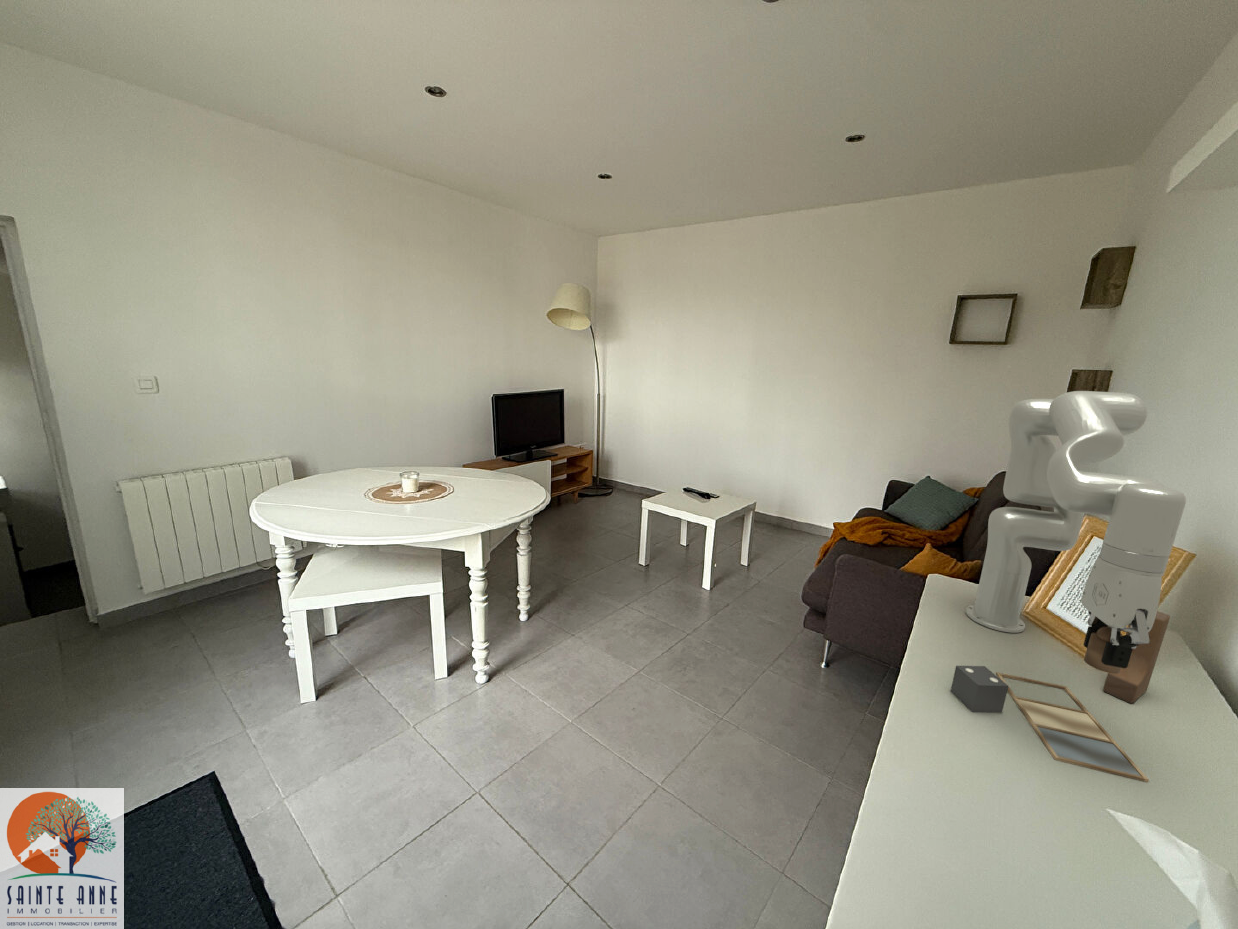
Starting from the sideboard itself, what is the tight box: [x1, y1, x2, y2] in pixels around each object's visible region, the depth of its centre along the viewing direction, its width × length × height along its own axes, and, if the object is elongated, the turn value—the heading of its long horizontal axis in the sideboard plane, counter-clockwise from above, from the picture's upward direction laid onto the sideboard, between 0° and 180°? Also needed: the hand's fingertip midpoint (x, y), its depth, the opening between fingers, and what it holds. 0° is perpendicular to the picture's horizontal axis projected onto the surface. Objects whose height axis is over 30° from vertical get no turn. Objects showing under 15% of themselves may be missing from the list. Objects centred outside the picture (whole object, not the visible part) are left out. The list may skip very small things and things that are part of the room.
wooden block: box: [1102, 610, 1171, 704], centre depth 98 cm, size 9×4×18 cm, turn 119°
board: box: [995, 671, 1150, 783], centre depth 91 cm, size 24×12×1 cm, turn 161°
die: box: [950, 665, 1009, 713], centre depth 95 cm, size 6×6×6 cm
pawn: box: [1083, 627, 1123, 674], centre depth 81 cm, size 4×4×7 cm
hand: (1104, 656), depth 82 cm, fingers closed on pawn, 4 cm apart
